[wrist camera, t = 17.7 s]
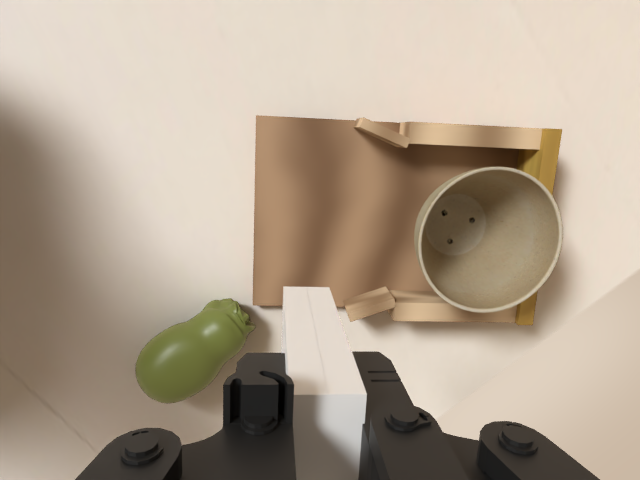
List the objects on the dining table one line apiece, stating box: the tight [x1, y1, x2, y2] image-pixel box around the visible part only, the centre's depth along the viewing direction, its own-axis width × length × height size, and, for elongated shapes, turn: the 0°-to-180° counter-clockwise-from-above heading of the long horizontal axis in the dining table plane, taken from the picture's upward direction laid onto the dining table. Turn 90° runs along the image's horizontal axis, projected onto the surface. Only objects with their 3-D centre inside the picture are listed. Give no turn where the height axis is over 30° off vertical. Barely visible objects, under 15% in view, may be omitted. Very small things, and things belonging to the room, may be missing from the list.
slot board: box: [253, 116, 562, 325], centre depth 37 cm, size 22×15×4 cm
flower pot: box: [414, 167, 563, 313], centre depth 35 cm, size 10×10×7 cm
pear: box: [135, 299, 256, 403], centre depth 38 cm, size 6×5×10 cm
